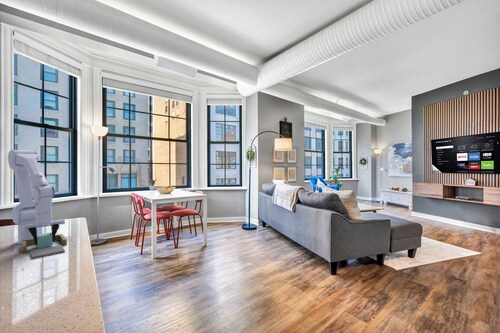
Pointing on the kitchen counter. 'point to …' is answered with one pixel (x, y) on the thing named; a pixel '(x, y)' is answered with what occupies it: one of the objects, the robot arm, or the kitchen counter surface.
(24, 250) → the brown u-shaped bracket
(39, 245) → the teal block
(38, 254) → the charcoal mat
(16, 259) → the kitchen counter surface
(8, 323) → the kitchen counter surface
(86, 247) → the kitchen counter surface
